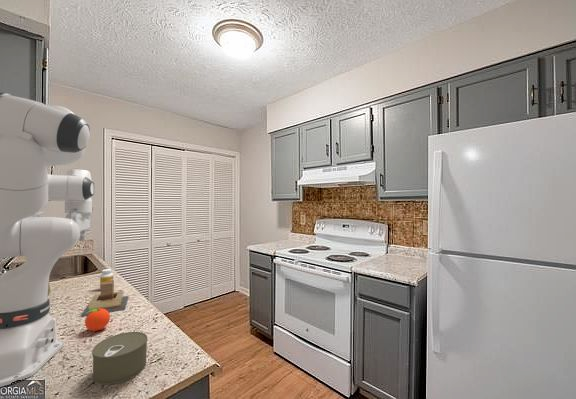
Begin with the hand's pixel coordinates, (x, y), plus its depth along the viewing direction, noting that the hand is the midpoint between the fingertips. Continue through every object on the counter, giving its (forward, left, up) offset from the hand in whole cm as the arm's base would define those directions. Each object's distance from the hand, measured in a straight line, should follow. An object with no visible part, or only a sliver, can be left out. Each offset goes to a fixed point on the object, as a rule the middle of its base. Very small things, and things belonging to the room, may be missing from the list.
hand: (78, 242), depth 106 cm
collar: (-5, -11, -27) cm, 29 cm away
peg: (-5, -11, -26) cm, 28 cm away
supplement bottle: (+21, -7, -27) cm, 35 cm away
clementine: (-27, -11, -27) cm, 40 cm away
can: (-55, -21, -27) cm, 65 cm away
